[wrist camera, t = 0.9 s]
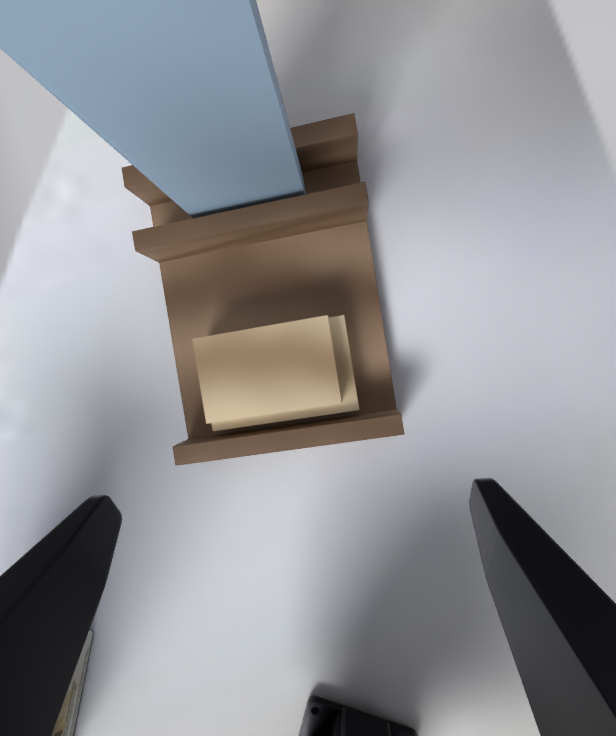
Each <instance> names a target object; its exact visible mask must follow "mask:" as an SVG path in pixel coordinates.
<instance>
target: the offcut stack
mask: <svg viewBox="0 0 616 736" xmlns="http://www.w3.org/2000/svg"><path fill="white" fill-rule="evenodd" d="M192 340H193V346H194V352H195V358H196V364H197V370H198V377H199V383H200V389H201V395H202V401H203V407H204V413H205V419H206V424H208V423H212V429H213V431H218V430H225V429H232V428H239V427H246V426H253V425H260V424H267V423H273V422H280V421H287V420H294V419H301V418H308V417H315V416H322V415H328V414H335V413H342V412H349V411H356V410H359V405H358V398H357V392H356V386H355V380H354V374H353V367H352V361H351V355H350V349H349V342H348V336H347V330H346V324H345V318H344V315H341V316H335V317H330V318H329V317H328V315H325V316H320V317H314V318H308V319H303V320H297V321H291V322H285V323H280V324H274V325H268V326H263V327H257V328H251V329H246V330H240V331H234V332H228V333H223V334H217V335H211V336H206V337H200V338H194V339H192Z"/></svg>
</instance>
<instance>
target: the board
mask: <svg viewBox="0 0 616 736" xmlns="http://www.w3.org/2000/svg"><path fill="white" fill-rule="evenodd" d="M0 49H1V50H3V51H4V52H5V53H6V54H7V55H8V56H9V57H11V58H12V59H13V60H14V61H15V62H16V63H17V64H19V65H20V66H21V67H22V68H23V69H24V70H25V71H27V72H28V73H29V74H30V75H31V76H32V77H33V78H35V79H36V80H37V81H38V82H39V83H40V84H41V85H42V86H43V87H45V88H46V89H47V90H48V91H49V92H50V93H52V94H53V95H54V96H55V97H56V98H57V99H58V100H59V101H61V102H62V103H63V104H64V105H65V106H66V107H67V108H68V109H70V110H71V111H72V112H73V113H74V114H75V115H76V116H78V117H79V118H80V119H81V120H82V121H83V122H84V123H86V124H87V125H88V126H89V127H90V128H91V129H92V130H93V131H95V132H96V133H97V134H98V135H99V136H100V137H101V138H103V139H104V140H105V141H106V142H107V143H108V144H109V145H111V146H112V147H113V148H114V149H115V150H116V151H117V152H118V153H120V154H121V155H122V156H123V157H124V158H125V159H126V160H128V161H129V162H130V163H131V164H132V165H133V166H134V167H136V168H137V169H138V170H139V171H140V172H141V173H142V174H143V175H145V176H146V177H147V178H148V179H149V180H150V181H151V182H153V183H154V184H155V185H156V186H157V187H158V188H159V189H161V190H162V191H163V192H164V193H165V194H166V195H167V196H168V197H170V198H171V199H172V200H173V201H174V202H175V203H176V204H178V205H179V206H180V207H181V208H182V209H183V210H184V211H186V212H187V213H188V214H189V215H190V216H191V217H192V218H198V217H203V216H207V215H212V214H217V213H221V212H226V211H231V210H235V209H240V208H245V207H249V206H254V205H259V204H263V203H268V202H273V201H277V200H282V199H287V198H292V197H296V196H301V195H306V190H305V184H304V179H303V175H302V171H301V167H300V164H299V160H298V156H297V152H296V149H295V145H294V141H293V137H292V134H291V130H290V126H289V122H288V119H287V115H286V111H285V107H284V104H283V100H282V96H281V92H280V89H279V85H278V81H277V77H276V74H275V70H274V66H273V63H272V59H271V55H270V51H269V48H268V44H267V40H266V36H265V33H264V29H263V25H262V21H261V18H260V14H259V10H258V6H257V3H256V0H0Z"/></svg>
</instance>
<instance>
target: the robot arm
mask: <svg viewBox="0 0 616 736" xmlns="http://www.w3.org/2000/svg"><path fill="white" fill-rule="evenodd" d="M469 505H470V511H471V516H472V520H473V524H474V529H475V533H476V537H477V542H478V546H479V550H480V555H481V559H482V564H483V568H484V572H485V576H486V579H487V582H488V585H489V588H490V591H491V594H492V597H493V600H494V603H495V606H496V608H497V611H498V614H499V617H500V620H501V623H502V626H503V629H504V631H505V634H506V637H507V640H508V643H509V646H510V649H511V652H512V654H513V657H514V660H515V663H516V666H517V669H518V672H519V675H520V677H521V680H522V683H523V686H524V689H525V692H526V695H527V698H528V700H529V703H530V706H531V709H532V712H533V715H534V718H535V721H536V723H537V726H538V729H539V732H540V735H541V736H616V603H615V602H614V601H613V600H612V599H611V598H610V597H609V596H608V595H607V594H606V593H605V592H604V591H603V590H602V589H601V588H600V587H599V586H598V585H597V584H596V583H595V582H594V581H593V580H592V579H591V578H590V577H589V576H588V575H587V574H586V573H585V572H584V571H583V570H582V569H581V568H580V567H579V566H578V565H577V564H576V562H575V561H574V560H573V559H572V558H571V557H570V556H569V555H568V554H567V553H566V552H565V551H564V550H563V549H562V548H561V547H560V546H559V545H558V544H557V543H556V542H555V541H554V540H553V539H552V538H551V537H550V536H549V535H548V534H547V533H546V532H545V531H544V530H543V529H542V528H541V527H540V526H539V525H538V524H537V523H536V522H535V521H534V520H533V519H532V518H531V517H530V516H529V515H528V514H527V512H526V511H525V510H524V509H523V508H522V507H521V506H520V505H519V504H518V503H517V502H516V501H515V500H514V499H513V498H512V497H511V496H510V495H509V494H508V493H507V492H506V491H505V490H504V489H503V488H502V487H501V486H500V485H499V484H498V483H497V482H496V481H495V480H493V479H491V478H482V479H475V480H474V481H473V484H472V489H471V494H470V500H469ZM121 522H122V515H121V513H120V511H119V510H118V508H117V507H116V505H115V504H114V503H113V501H112V500H111V498H110V497H109V496H106V495H100V496H92V497H90V498H88V499H87V500H86V501H84V502H83V503H82V504H81V505H80V506H79V507H78V508H77V509H75V510H74V511H73V512H72V513H71V514H70V515H69V516H68V517H66V518H65V519H64V520H63V521H62V522H61V523H60V524H59V525H57V526H56V527H55V528H54V529H53V530H52V531H51V532H50V533H48V534H47V535H46V536H45V537H44V538H43V539H42V540H41V541H39V542H38V543H37V544H36V545H35V546H34V547H33V548H31V549H30V550H29V551H28V552H27V553H26V554H25V555H24V556H22V557H21V558H20V559H19V560H18V561H17V562H16V563H15V564H13V565H12V566H11V567H10V568H9V569H8V570H7V571H6V572H4V573H3V574H2V575H1V576H0V736H52V734H53V731H54V728H55V725H56V722H57V720H58V717H59V714H60V711H61V708H62V706H63V703H64V700H65V697H66V694H67V692H68V689H69V686H70V683H71V680H72V677H73V675H74V672H75V669H76V666H77V663H78V661H79V658H80V655H81V652H82V649H83V647H84V644H85V641H86V638H87V635H88V633H89V630H90V627H91V624H92V621H93V619H94V616H95V613H96V610H97V607H98V605H99V602H100V599H101V596H102V593H103V590H104V587H105V584H106V581H107V578H108V574H109V570H110V566H111V562H112V558H113V554H114V550H115V547H116V543H117V539H118V535H119V531H120V527H121ZM313 707H318V709H315V708H313ZM299 736H418V735H417V732H416V731H415V730H413V729H412V728H409V727H406V726H403V725H400V724H397V723H394V722H391V721H388V720H385V719H382V718H379V717H376V716H373V715H370V714H367V713H364V712H361V711H359V710H356V709H353V708H350V707H347V706H344V705H341V704H338V703H335V702H332V701H329V700H326V699H323V698H320V697H316V696H314V697H311V698H310V699H309V700H308V703H307V707H306V711H305V715H304V719H303V722H302V726H301V730H300V734H299Z"/></svg>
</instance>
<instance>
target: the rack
mask: <svg viewBox="0 0 616 736" xmlns="http://www.w3.org/2000/svg"><path fill="white" fill-rule="evenodd" d="M290 130H291V134H292V137H293V141H294V145H295V149H296V152H297V156H298V160H299V164H300V167H301V171H302V175H303V179H304V184H305V190H306V195H301V196H296V197H292V198H287V199H282V200H277V201H273V202H268V203H263V204H259V205H254V206H249V207H245V208H240V209H235V210H231V211H226V212H221V213H217V214H212V215H207V216H203V217H198V218H192V217H191V216H190V215H189V214H188V213H187V212H186V211H184V210H183V209H182V208H181V207H180V206H179V205H178V204H176V203H175V202H174V201H173V200H172V199H171V198H170V197H168V196H167V195H166V194H165V193H164V192H163V191H162V190H161V189H159V188H158V187H157V186H156V185H155V184H154V183H153V182H151V181H150V180H149V179H148V178H147V177H146V176H145V175H143V174H142V173H141V172H140V171H139V170H138V169H137V168H136V167H134V166H133V165H131V166H127V167H123V168H122V173H123V179H124V186H125V188H127V189H128V190H129V191H131V192H132V193H133V194H135V195H136V196H137V197H139V198H140V199H141V200H143V201H144V202H145V203H147V204H148V205H149V206H150V209H151V215H152V221H153V227H151V228H146V229H142V230H137V231H132V234H133V240H134V246H135V251H137V252H139V253H141V254H143V255H145V256H147V257H149V258H151V259H153V260H155V261H157V262H159V263H160V269H161V276H162V282H163V288H164V294H165V300H166V306H167V312H168V318H169V324H170V330H171V336H172V342H173V348H174V354H175V360H176V367H177V373H178V379H179V385H180V391H181V397H182V403H183V409H184V415H185V421H186V427H187V433H188V439H187V440H185V441H183V442H181V443H179V444H177V445H175V446H174V447H173V453H174V459H175V465H183V464H191V463H198V462H205V461H213V460H220V459H227V458H235V457H242V456H249V455H257V454H264V453H271V452H279V451H286V450H293V449H301V448H308V447H315V446H323V445H330V444H337V443H345V442H352V441H359V440H367V439H374V438H381V437H389V436H396V435H403V434H404V429H403V422H402V416H401V414H400V412H399V411H398V410H397V409H396V403H395V396H394V390H393V384H392V378H391V371H390V365H389V359H388V353H387V346H386V340H385V334H384V328H383V321H382V315H381V309H380V302H379V296H378V290H377V284H376V277H375V271H374V265H373V259H372V252H371V246H370V240H369V234H368V227H367V212H368V203H369V202H368V196H367V190H366V184H365V182H362V183H360V177H359V171H358V165H357V137H358V133H357V127H356V121H355V115H354V113H353V114H349V115H344V116H340V117H336V118H332V119H327V120H323V121H319V122H315V123H310V124H306V125H302V126H298V127H293V128H290ZM325 315H328V317H329V318H330V317H335V316H341V315H344V318H345V324H346V330H347V336H348V342H349V349H350V355H351V361H352V367H353V374H354V380H355V386H356V392H357V398H358V405H359V410H356V411H349V412H342V413H335V414H328V415H322V416H315V417H308V418H301V419H294V420H287V421H280V422H273V423H267V424H260V425H253V426H246V427H239V428H232V429H225V430H218V431H213V429H212V423H208V424H206V419H205V413H204V407H203V401H202V395H201V389H200V383H199V377H198V370H197V364H196V358H195V352H194V346H193V340H192V339H194V338H200V337H206V336H211V335H217V334H223V333H228V332H234V331H240V330H246V329H251V328H257V327H263V326H268V325H274V324H280V323H285V322H291V321H297V320H303V319H308V318H314V317H320V316H325Z"/></svg>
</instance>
